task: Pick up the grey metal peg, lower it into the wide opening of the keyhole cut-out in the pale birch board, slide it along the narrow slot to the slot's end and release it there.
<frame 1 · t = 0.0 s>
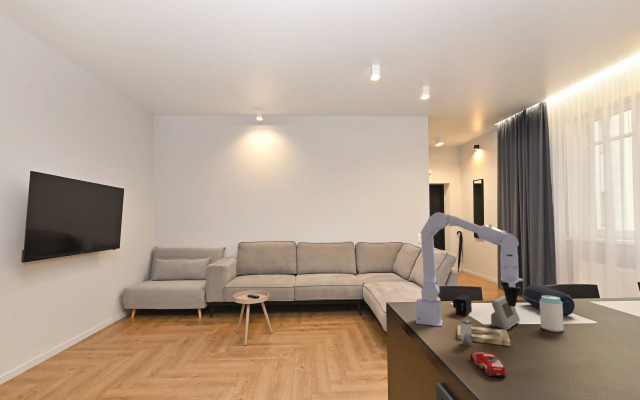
hand: (510, 303, 124), 10 cm above the counter, tool pointing down, fingers open, 7 cm apart
race car: (487, 369, 94), on the counter
can: (552, 330, 126), on the counter
peg: (466, 344, 111), on the counter
portable speaker: (548, 311, 153), on the counter
digital camera: (462, 313, 149), on the counter
keyhole board: (482, 336, 118), on the counter
digital clock: (506, 326, 131), on the counter
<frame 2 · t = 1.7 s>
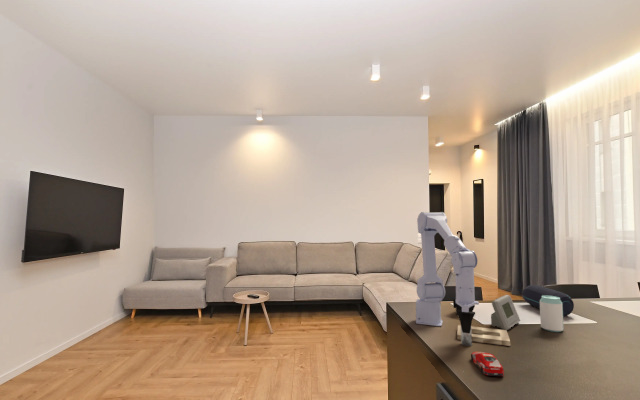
hand: (466, 329, 111), 5 cm above the counter, tool pointing down, fingers open, 7 cm apart
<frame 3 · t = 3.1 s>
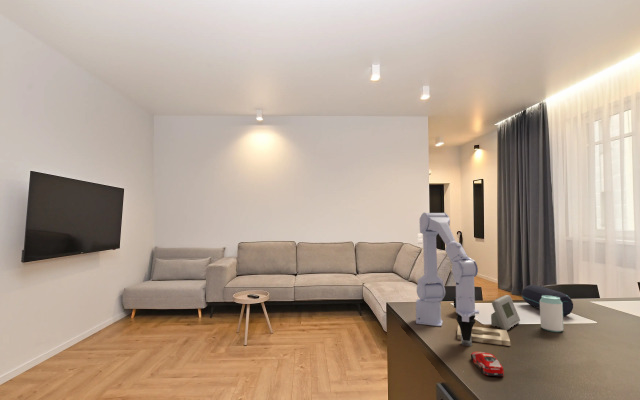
hand: (466, 338, 111), 2 cm above the counter, tool pointing down, fingers closed on peg, 3 cm apart
peg: (466, 344, 111), on the counter, touching gripper
everything else where it was.
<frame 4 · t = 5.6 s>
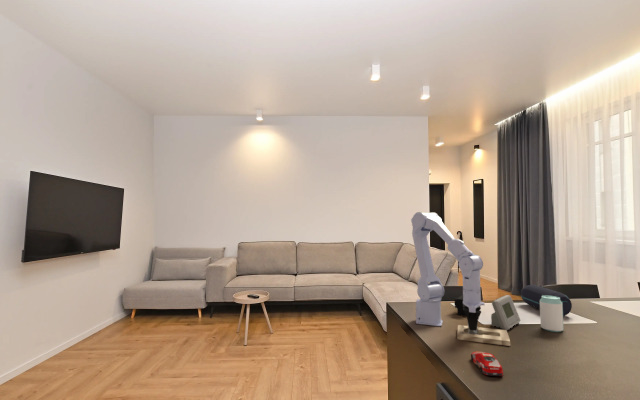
hand: (472, 328, 120), 3 cm above the counter, tool pointing down, fingers closed on peg, 3 cm apart
peg: (472, 335, 120), resting in keyhole board, touching gripper
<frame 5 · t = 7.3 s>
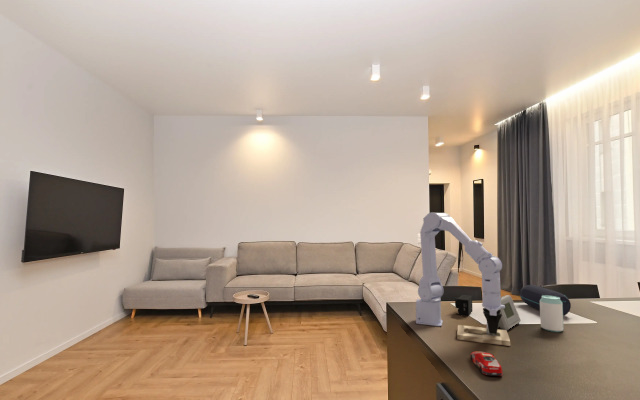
hand: (492, 331, 117), 2 cm above the counter, tool pointing down, fingers closed on peg, 3 cm apart
peg: (491, 337, 117), resting in keyhole board, touching gripper
when the fingers open (2 cm above the counter, at t = 8.3 s): peg stays where it is, resting in keyhole board.
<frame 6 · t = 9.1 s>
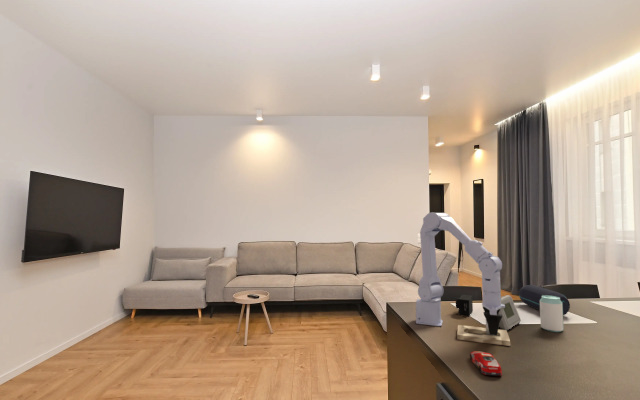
hand: (492, 331, 117), 2 cm above the counter, tool pointing down, fingers open, 7 cm apart
peg: (491, 337, 117), resting in keyhole board
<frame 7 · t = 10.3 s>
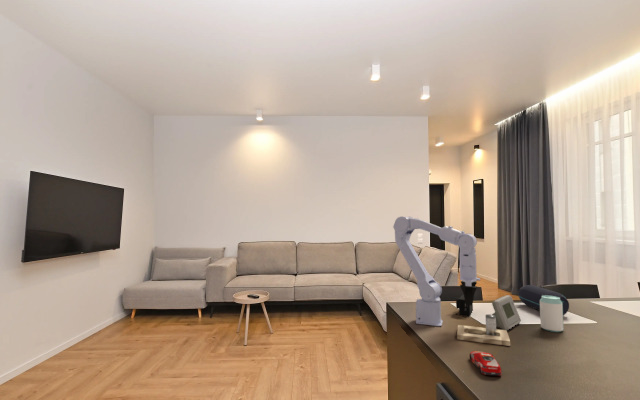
hand: (469, 302, 127), 10 cm above the counter, tool pointing down, fingers open, 7 cm apart
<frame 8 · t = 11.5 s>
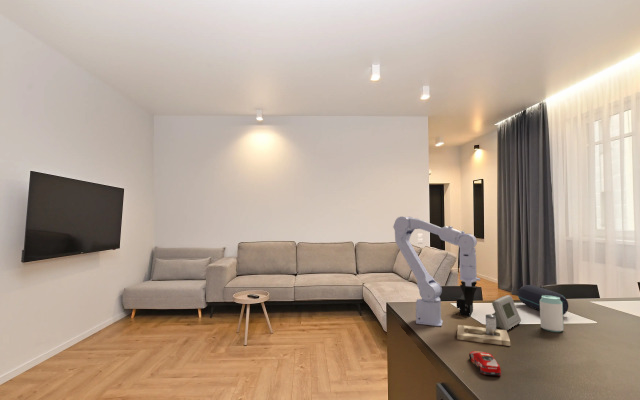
hand: (469, 302, 127), 10 cm above the counter, tool pointing down, fingers open, 7 cm apart
at the end: peg 0.8 cm from the target spot on the keyhole board, point 0.0 cm above the keyhole board's base; peg tilted 0°; the gripper is holding nothing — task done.
